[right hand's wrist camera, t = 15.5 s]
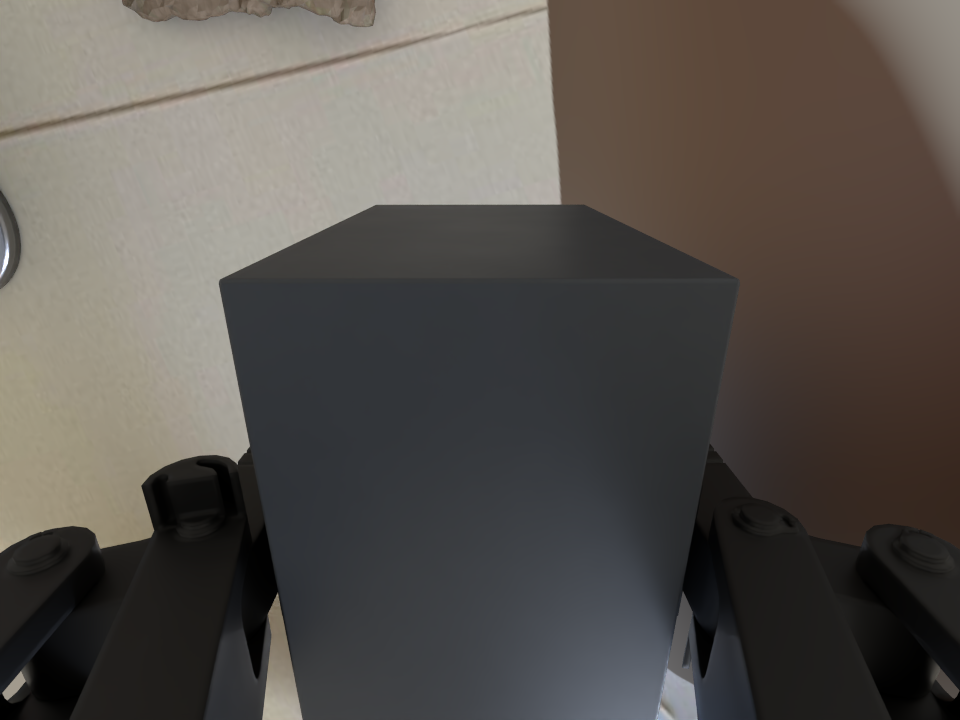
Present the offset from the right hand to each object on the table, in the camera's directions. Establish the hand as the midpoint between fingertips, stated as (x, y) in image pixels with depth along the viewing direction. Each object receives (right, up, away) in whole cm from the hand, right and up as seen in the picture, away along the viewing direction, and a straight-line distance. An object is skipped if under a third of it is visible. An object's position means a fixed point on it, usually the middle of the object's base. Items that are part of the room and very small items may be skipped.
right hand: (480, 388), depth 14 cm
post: (0, -19, +8) cm, 20 cm away
